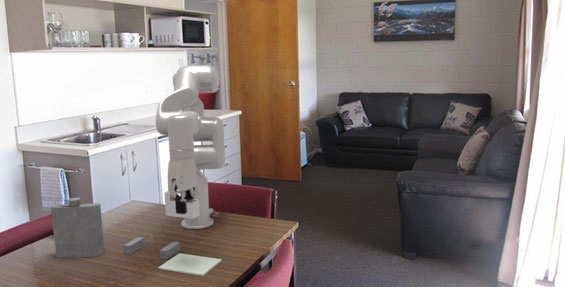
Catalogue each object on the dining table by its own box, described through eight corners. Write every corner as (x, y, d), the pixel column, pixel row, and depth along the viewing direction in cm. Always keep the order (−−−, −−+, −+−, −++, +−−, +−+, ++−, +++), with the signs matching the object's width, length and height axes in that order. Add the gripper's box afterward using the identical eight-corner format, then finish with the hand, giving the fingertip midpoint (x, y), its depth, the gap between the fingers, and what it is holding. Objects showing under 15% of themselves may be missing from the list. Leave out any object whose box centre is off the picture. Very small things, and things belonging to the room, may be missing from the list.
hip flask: (105, 252, 173) (100, 195, 169) (102, 256, 169) (97, 199, 165) (58, 253, 172) (52, 197, 168) (53, 258, 168) (47, 200, 164)
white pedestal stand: (173, 211, 163) (171, 189, 162) (199, 214, 159) (198, 191, 158) (165, 215, 159) (164, 192, 158) (193, 218, 155) (191, 195, 154)
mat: (179, 254, 169) (179, 253, 169) (221, 260, 163) (221, 259, 163) (158, 269, 158) (158, 267, 158) (203, 276, 152) (203, 274, 152)
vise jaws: (138, 245, 178) (138, 237, 178) (180, 250, 172) (179, 242, 172) (124, 253, 171) (123, 245, 170) (167, 259, 165) (166, 251, 164)
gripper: (186, 149, 165) (189, 203, 168) (155, 158, 149) (159, 218, 152) (206, 150, 162) (209, 205, 165) (176, 160, 147) (180, 220, 150)
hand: (185, 210), depth 159 cm, fingers closed on white pedestal stand, 4 cm apart
